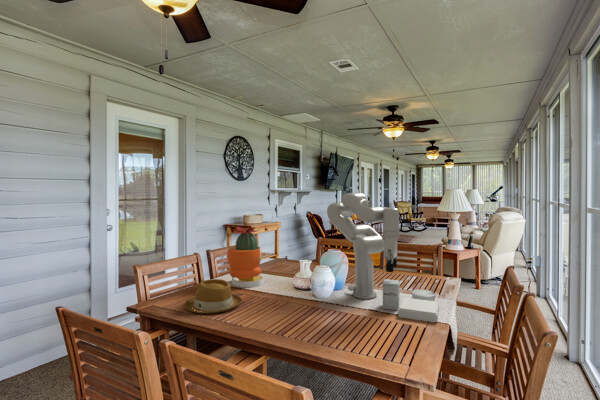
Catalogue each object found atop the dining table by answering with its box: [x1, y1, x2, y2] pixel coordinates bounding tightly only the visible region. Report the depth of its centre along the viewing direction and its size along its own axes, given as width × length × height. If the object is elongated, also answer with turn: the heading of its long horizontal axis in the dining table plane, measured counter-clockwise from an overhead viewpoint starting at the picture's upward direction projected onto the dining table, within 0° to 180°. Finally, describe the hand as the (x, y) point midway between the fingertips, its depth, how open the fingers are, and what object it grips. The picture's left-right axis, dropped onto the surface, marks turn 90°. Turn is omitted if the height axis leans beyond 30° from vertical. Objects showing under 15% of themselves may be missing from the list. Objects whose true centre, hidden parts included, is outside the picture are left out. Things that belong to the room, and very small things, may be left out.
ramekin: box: [411, 289, 437, 301], centre depth 165 cm, size 11×11×5 cm
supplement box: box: [382, 278, 401, 311], centre depth 160 cm, size 7×7×13 cm
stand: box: [397, 297, 440, 323], centre depth 152 cm, size 16×16×4 cm
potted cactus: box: [226, 226, 265, 288], centre depth 202 cm, size 22×22×35 cm
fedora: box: [184, 278, 243, 314], centre depth 167 cm, size 27×29×12 cm
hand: (391, 269), depth 159 cm, fingers open, 9 cm apart
